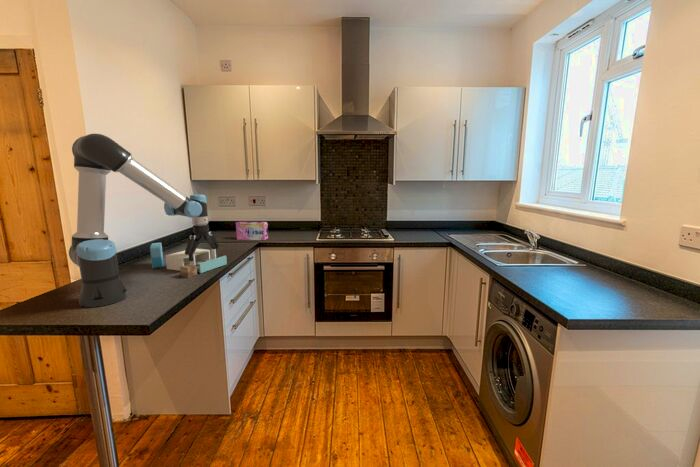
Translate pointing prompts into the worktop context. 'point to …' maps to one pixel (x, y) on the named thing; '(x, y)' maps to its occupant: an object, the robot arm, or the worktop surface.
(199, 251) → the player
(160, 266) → the data package
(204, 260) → the disc
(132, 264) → the worktop surface
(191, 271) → the block
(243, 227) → the gum box
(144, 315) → the worktop surface
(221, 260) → the teal grey flat block
